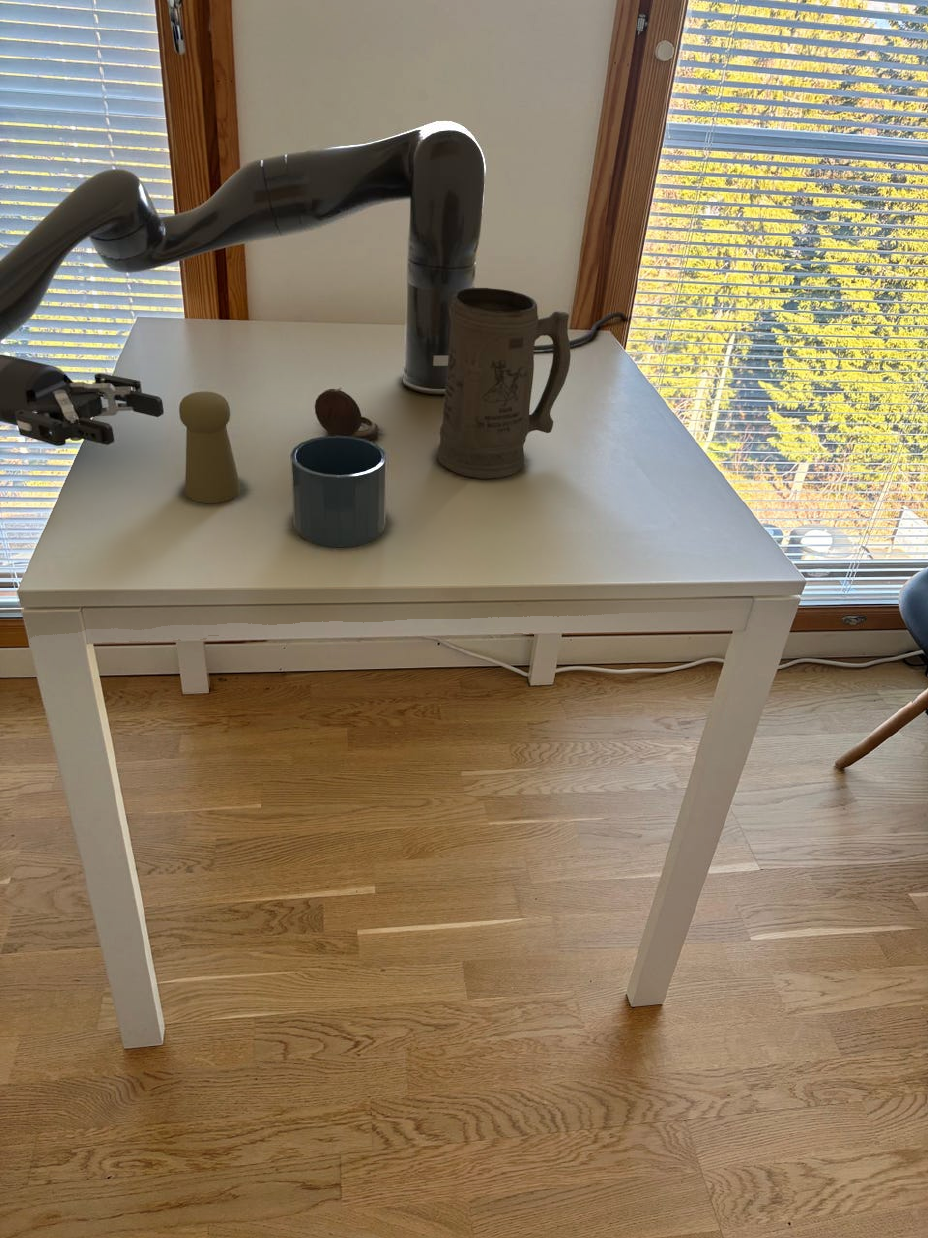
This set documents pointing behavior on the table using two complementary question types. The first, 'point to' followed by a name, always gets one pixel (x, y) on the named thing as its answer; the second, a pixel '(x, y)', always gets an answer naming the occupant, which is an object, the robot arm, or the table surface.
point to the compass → (343, 416)
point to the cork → (208, 449)
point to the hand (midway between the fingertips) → (137, 420)
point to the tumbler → (338, 490)
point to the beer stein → (496, 380)
